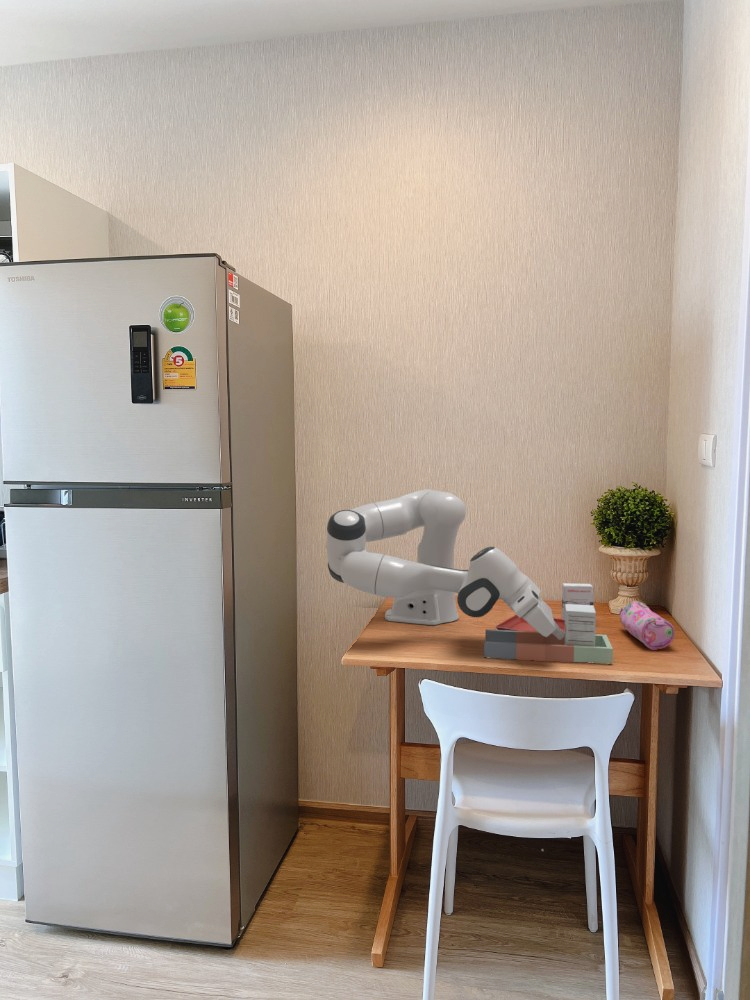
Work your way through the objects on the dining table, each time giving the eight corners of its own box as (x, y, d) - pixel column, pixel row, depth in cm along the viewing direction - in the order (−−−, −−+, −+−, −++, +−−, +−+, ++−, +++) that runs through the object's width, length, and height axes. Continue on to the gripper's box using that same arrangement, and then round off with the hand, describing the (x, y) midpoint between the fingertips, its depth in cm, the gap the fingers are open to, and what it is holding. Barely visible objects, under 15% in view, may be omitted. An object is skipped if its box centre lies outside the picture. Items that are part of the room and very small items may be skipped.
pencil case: (617, 629, 215) (618, 598, 214) (649, 629, 215) (650, 598, 214) (639, 651, 194) (640, 617, 193) (675, 652, 194) (676, 618, 193)
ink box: (590, 621, 223) (591, 582, 222) (593, 626, 218) (594, 586, 217) (561, 621, 224) (561, 582, 223) (563, 625, 219) (564, 586, 218)
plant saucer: (578, 632, 213) (578, 620, 213) (557, 648, 198) (557, 636, 198) (518, 623, 223) (518, 612, 223) (494, 638, 208) (494, 626, 207)
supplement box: (563, 651, 194) (564, 603, 193) (593, 652, 193) (594, 604, 191) (564, 659, 187) (565, 610, 186) (595, 661, 186) (596, 611, 184)
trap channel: (483, 658, 189) (484, 642, 188) (485, 643, 201) (485, 629, 201) (612, 664, 183) (612, 648, 183) (605, 649, 195) (606, 634, 195)
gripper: (514, 596, 202) (550, 633, 201) (515, 615, 182) (555, 656, 181) (531, 580, 201) (568, 618, 200) (534, 597, 181) (574, 639, 180)
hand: (562, 636), depth 190 cm, fingers closed, pressing on supplement box
